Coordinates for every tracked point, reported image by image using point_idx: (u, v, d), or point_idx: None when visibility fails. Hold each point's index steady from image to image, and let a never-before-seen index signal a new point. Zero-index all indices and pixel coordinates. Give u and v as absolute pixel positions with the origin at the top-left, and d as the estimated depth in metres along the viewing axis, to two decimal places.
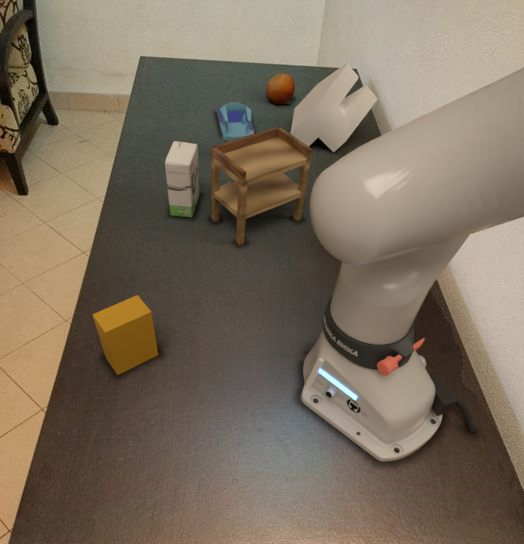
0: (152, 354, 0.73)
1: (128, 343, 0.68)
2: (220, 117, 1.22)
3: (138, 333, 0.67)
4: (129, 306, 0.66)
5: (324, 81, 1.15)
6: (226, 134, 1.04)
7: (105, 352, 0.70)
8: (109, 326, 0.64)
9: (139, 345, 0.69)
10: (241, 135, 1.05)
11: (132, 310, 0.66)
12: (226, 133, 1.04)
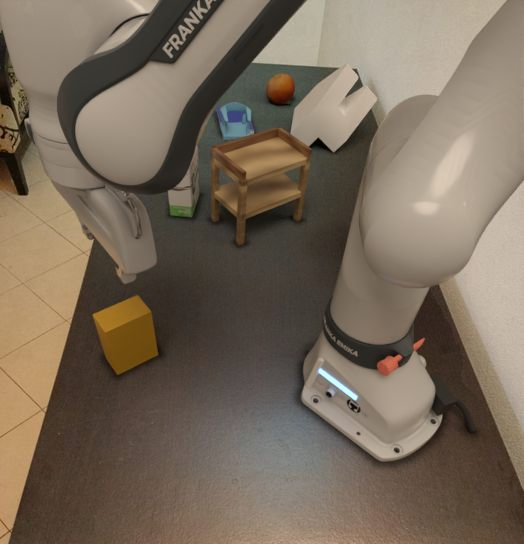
0: (152, 354, 0.73)
1: (128, 343, 0.68)
2: (220, 117, 1.21)
3: (138, 333, 0.67)
4: (129, 306, 0.66)
5: (324, 81, 1.15)
6: (226, 134, 1.04)
7: (105, 352, 0.70)
8: (109, 326, 0.64)
9: (139, 345, 0.69)
10: (241, 135, 1.05)
11: (132, 310, 0.66)
12: (226, 133, 1.04)
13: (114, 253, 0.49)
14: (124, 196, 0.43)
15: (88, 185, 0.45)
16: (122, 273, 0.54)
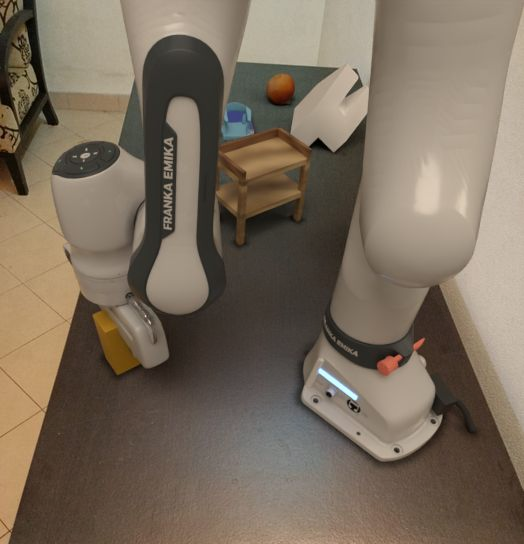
0: None
1: None
2: None
3: None
4: None
5: (324, 81, 1.15)
6: (226, 134, 1.04)
7: (105, 352, 0.70)
8: (109, 327, 0.64)
9: None
10: (241, 135, 1.05)
11: None
12: (226, 133, 1.04)
13: (135, 351, 0.61)
14: (144, 316, 0.56)
15: (115, 304, 0.58)
16: None
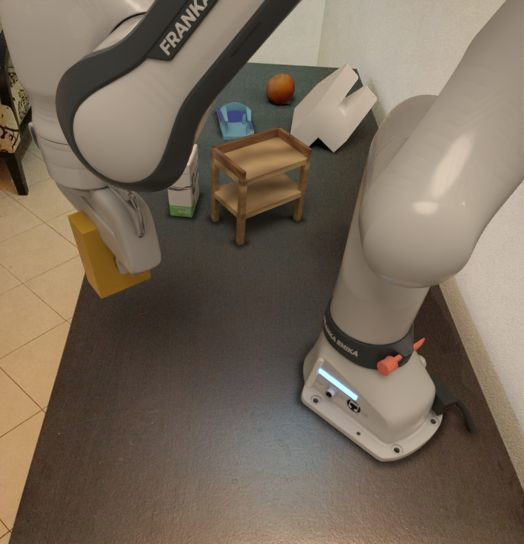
0: (144, 276, 0.61)
1: (112, 255, 0.55)
2: (220, 117, 1.21)
3: None
4: None
5: (324, 81, 1.15)
6: (226, 134, 1.04)
7: (86, 270, 0.58)
8: (87, 228, 0.52)
9: None
10: (241, 135, 1.05)
11: None
12: (226, 133, 1.04)
13: (119, 253, 0.49)
14: (127, 195, 0.43)
15: (91, 185, 0.46)
16: (119, 263, 0.55)
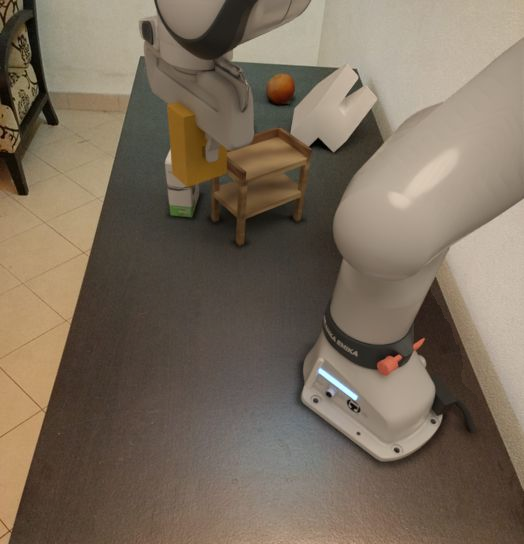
0: (221, 170, 0.69)
1: (201, 144, 0.64)
2: None
3: None
4: None
5: (324, 81, 1.15)
6: None
7: (174, 162, 0.67)
8: (186, 113, 0.60)
9: None
10: None
11: None
12: None
13: (218, 131, 0.58)
14: (237, 70, 0.52)
15: (202, 66, 0.54)
16: (209, 150, 0.63)
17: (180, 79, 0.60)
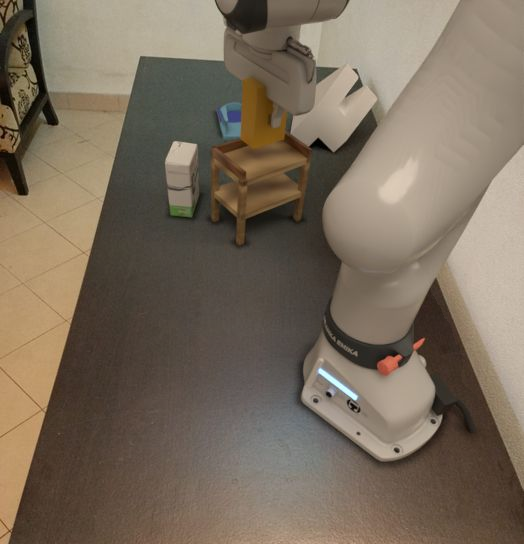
0: (280, 136, 0.84)
1: (268, 112, 0.79)
2: (220, 117, 1.22)
3: None
4: None
5: (324, 81, 1.15)
6: (226, 134, 1.04)
7: (243, 128, 0.81)
8: (259, 86, 0.75)
9: None
10: None
11: None
12: (226, 133, 1.04)
13: (286, 99, 0.72)
14: (307, 49, 0.67)
15: (277, 47, 0.69)
16: (274, 117, 0.78)
17: (255, 58, 0.74)
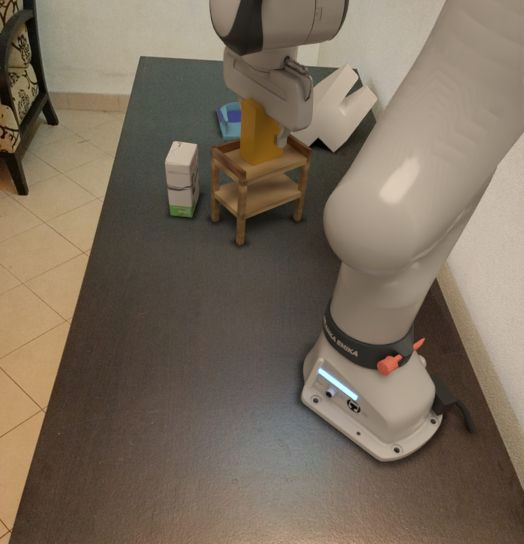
0: (278, 153, 0.86)
1: (266, 131, 0.81)
2: (220, 117, 1.22)
3: (275, 122, 0.81)
4: None
5: (324, 81, 1.15)
6: (226, 134, 1.04)
7: (243, 145, 0.84)
8: (257, 107, 0.77)
9: (273, 137, 0.83)
10: None
11: None
12: (226, 133, 1.04)
13: (284, 116, 0.74)
14: (304, 69, 0.69)
15: (275, 66, 0.71)
16: (280, 138, 0.79)
17: (254, 76, 0.76)
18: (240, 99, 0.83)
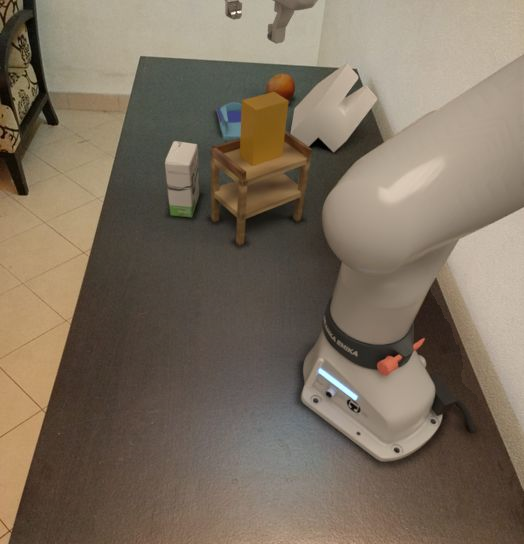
0: (278, 153, 0.86)
1: (266, 131, 0.81)
2: (220, 117, 1.22)
3: (275, 122, 0.81)
4: (270, 97, 0.80)
5: (324, 81, 1.15)
6: (226, 134, 1.04)
7: (243, 145, 0.84)
8: (257, 107, 0.77)
9: (273, 137, 0.83)
10: None
11: (273, 99, 0.79)
12: (226, 133, 1.04)
13: None
14: None
15: None
16: (276, 27, 0.58)
17: None
18: None
